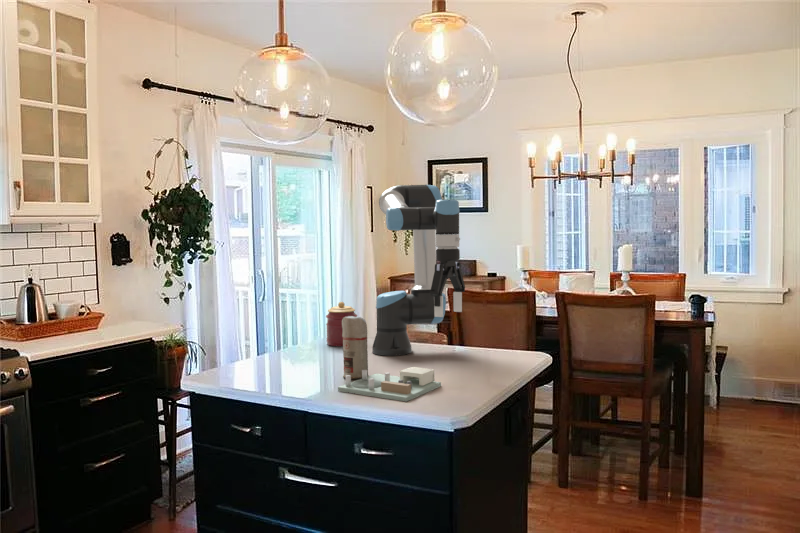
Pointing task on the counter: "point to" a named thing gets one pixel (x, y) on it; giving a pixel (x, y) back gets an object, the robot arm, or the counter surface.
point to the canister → (337, 323)
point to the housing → (417, 375)
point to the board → (391, 394)
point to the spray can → (354, 346)
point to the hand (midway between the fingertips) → (448, 314)
